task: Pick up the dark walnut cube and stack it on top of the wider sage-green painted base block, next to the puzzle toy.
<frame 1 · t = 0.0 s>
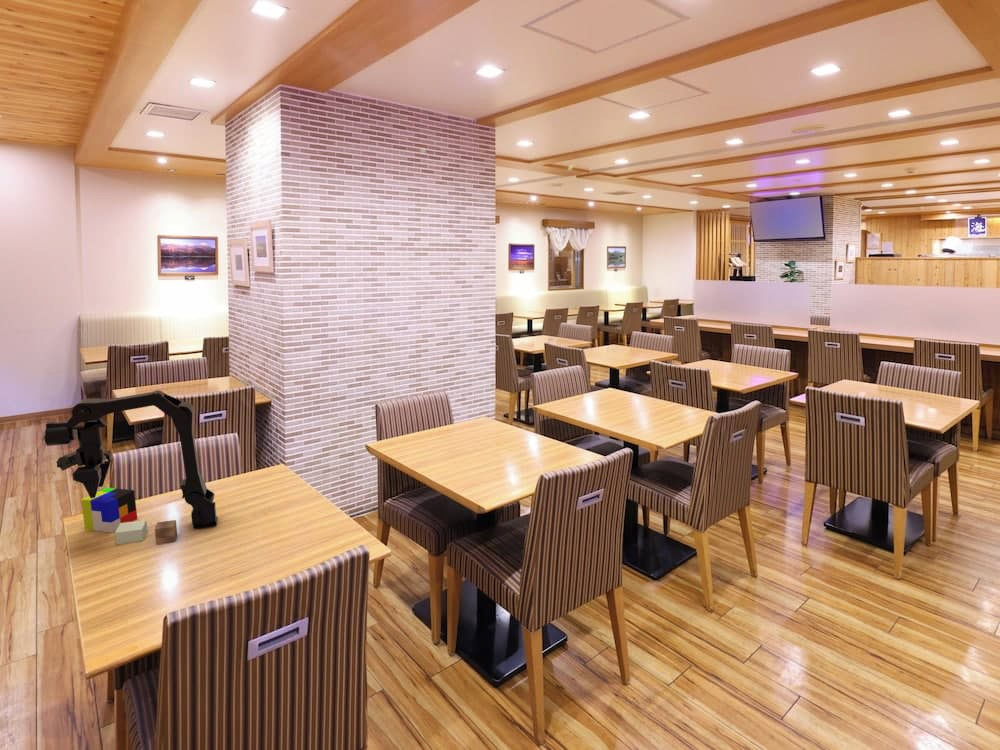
hand: (96, 492, 182), 15 cm above the table, fingers open, 9 cm apart
puzzle toy: (111, 524, 194), on the table
base block: (132, 538, 185), on the table
walnut cube: (167, 539, 184), on the table
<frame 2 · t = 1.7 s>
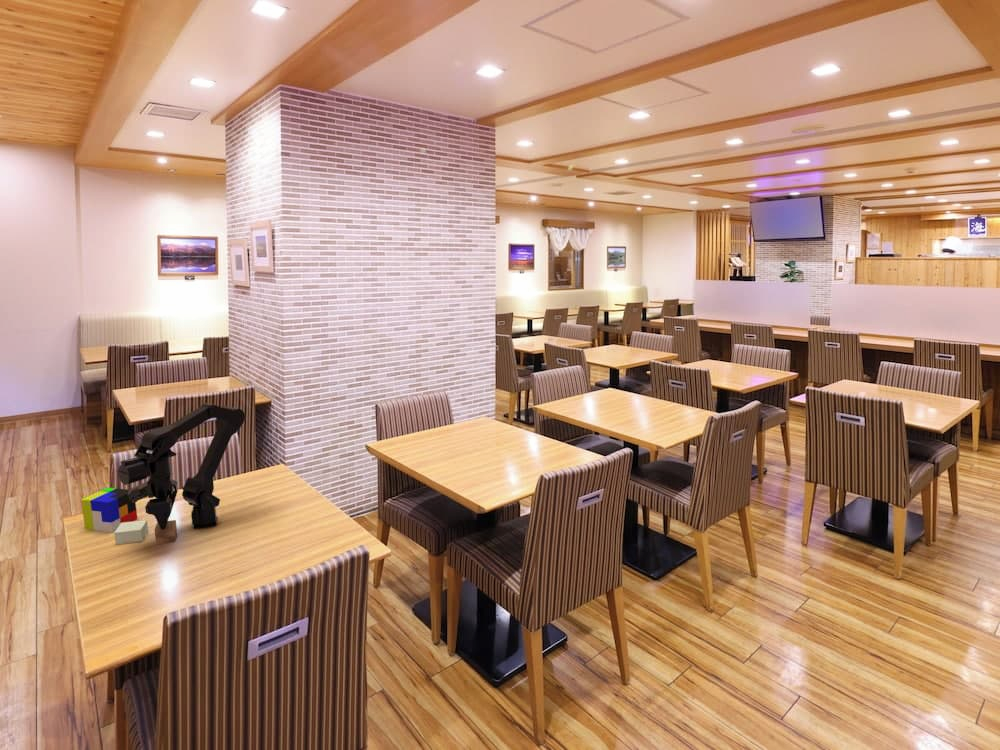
hand: (165, 522, 183), 5 cm above the table, fingers open, 9 cm apart
nothing on the table moved.
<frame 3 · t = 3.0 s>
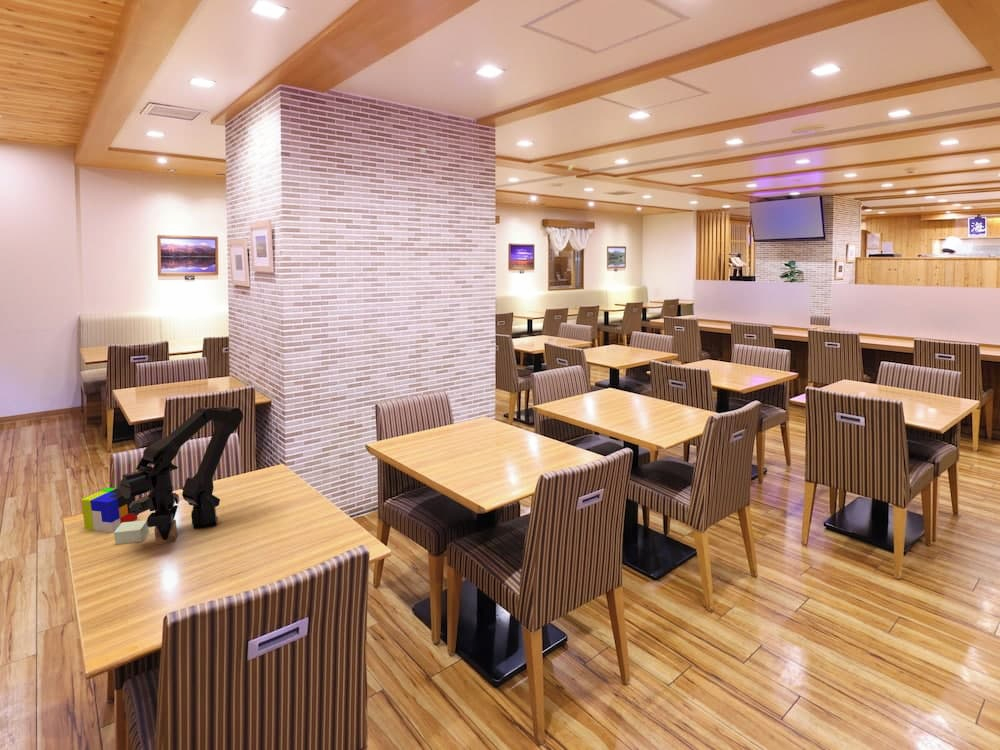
hand: (166, 535, 184), 1 cm above the table, fingers closed on walnut cube, 5 cm apart
walnut cube: (166, 539, 184), on the table, touching gripper
everything else where it was.
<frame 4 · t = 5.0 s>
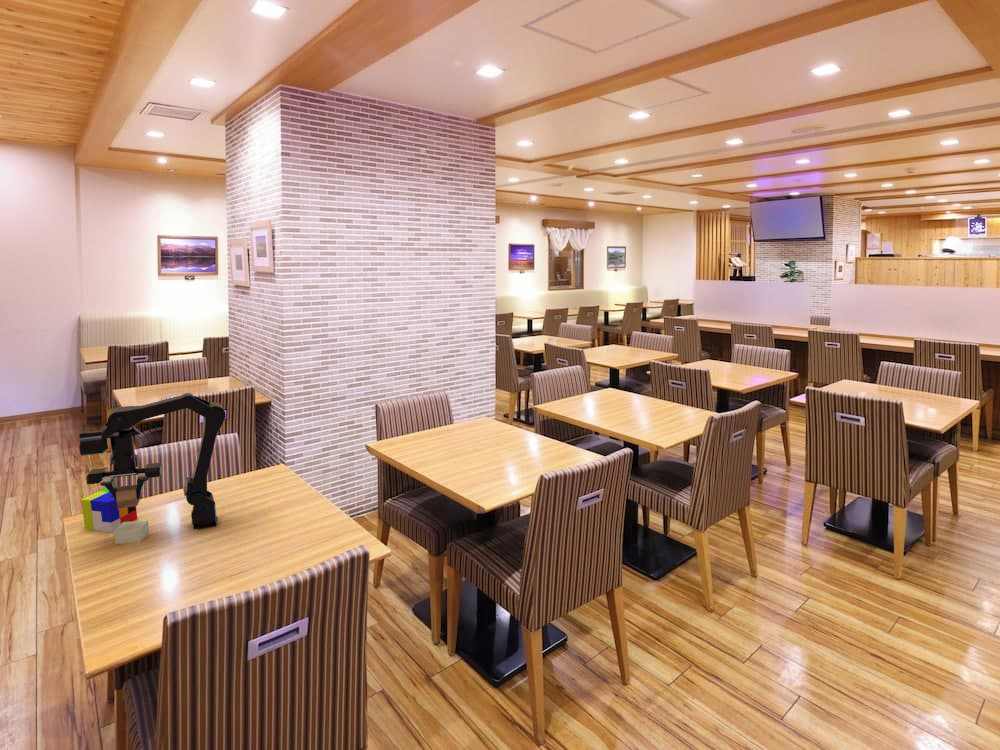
hand: (128, 500, 182), 12 cm above the table, fingers closed on walnut cube, 5 cm apart
walnut cube: (128, 504, 183), point 11 cm above the table, touching gripper
everything else where it was.
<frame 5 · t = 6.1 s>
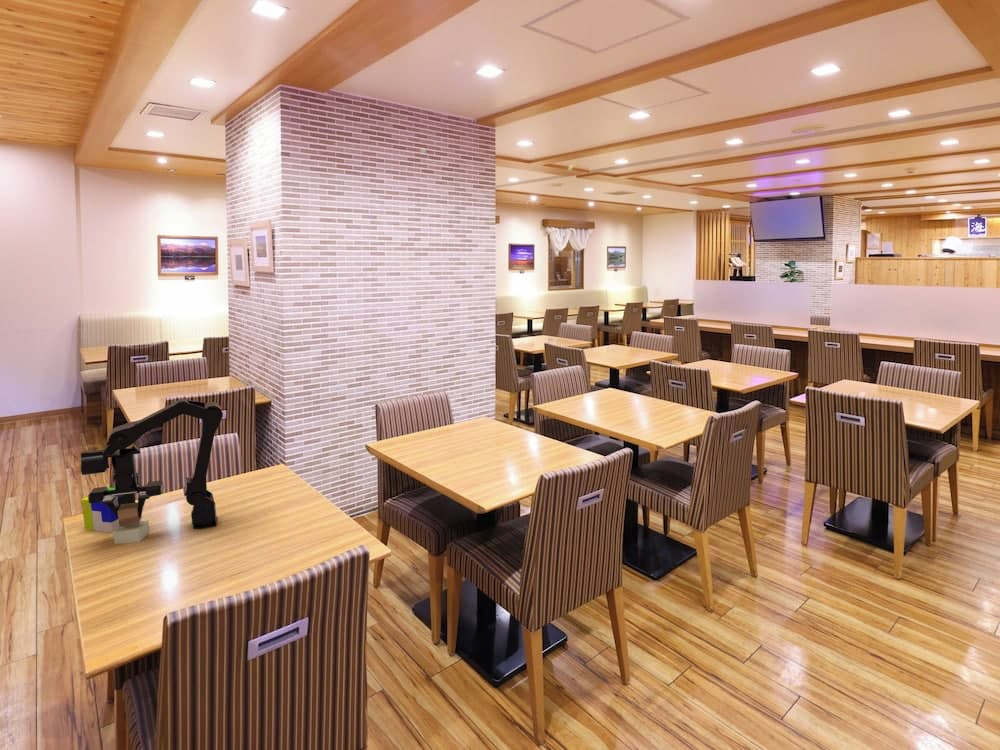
hand: (130, 518, 184), 6 cm above the table, fingers closed on walnut cube, 5 cm apart
walnut cube: (130, 521, 184), point 5 cm above the table, touching gripper
everything else where it was.
when the fingers open (6 cm above the table, at t = 6.9 s): walnut cube drops 1 cm, resting on base block.
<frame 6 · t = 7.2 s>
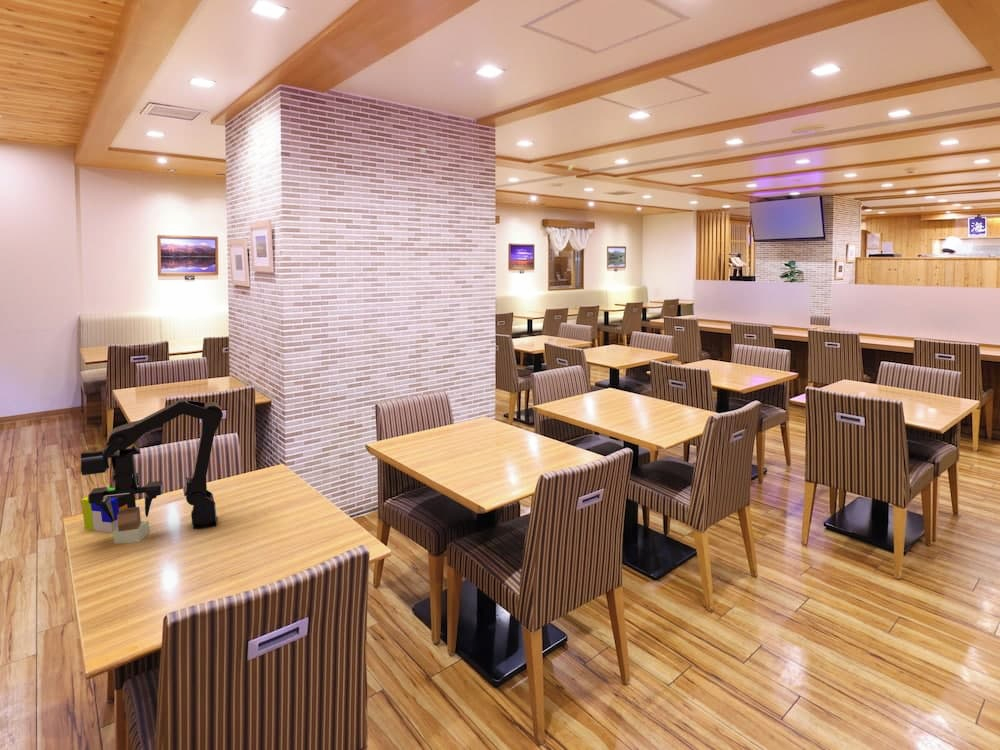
hand: (130, 518, 184), 6 cm above the table, fingers open, 9 cm apart
base block: (132, 538, 185), on the table, touching walnut cube
walnut cube: (130, 526, 184), point 4 cm above the table, touching base block
everything else where it was.
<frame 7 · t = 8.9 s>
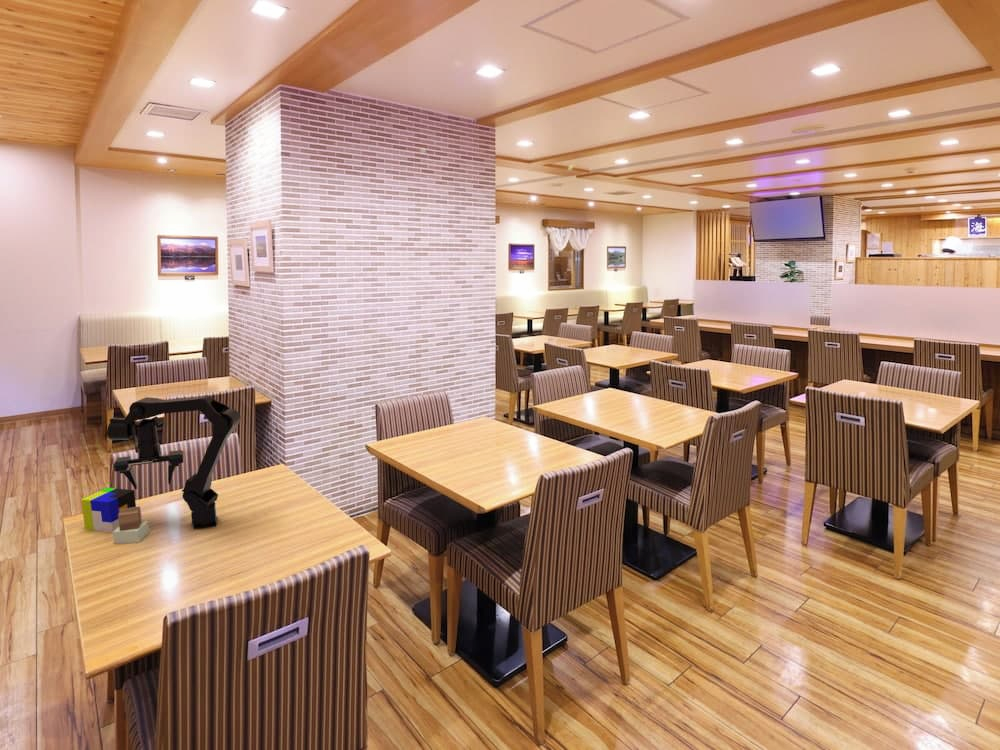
hand: (153, 486, 192), 13 cm above the table, fingers open, 9 cm apart
nothing on the table moved.
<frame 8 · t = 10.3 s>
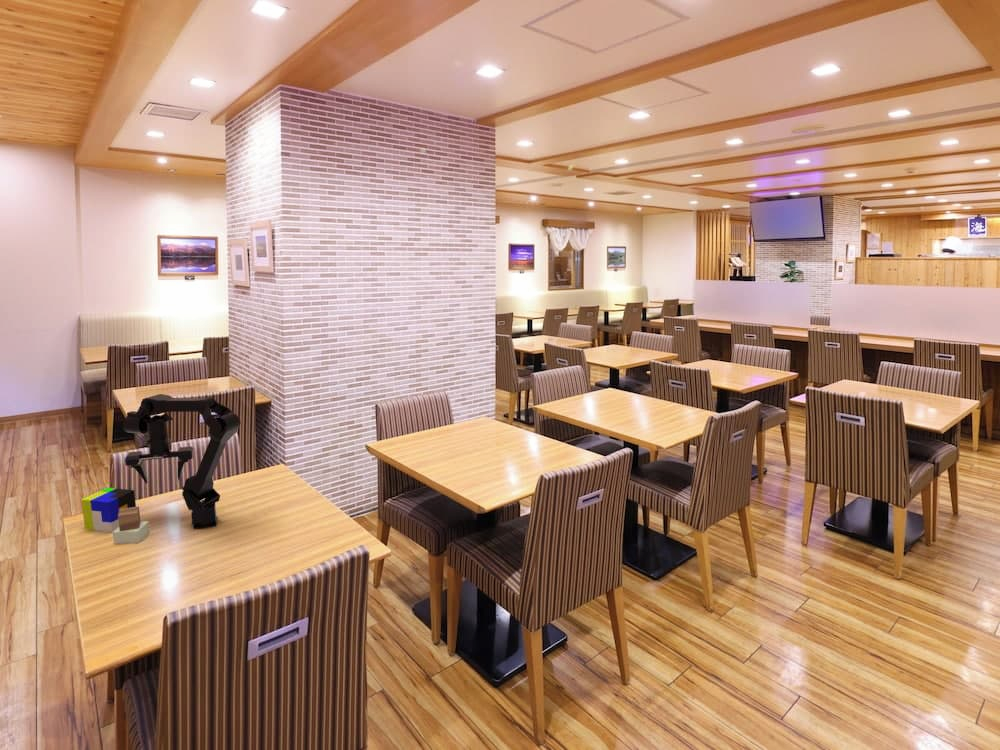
hand: (163, 481, 195), 13 cm above the table, fingers open, 9 cm apart
nothing on the table moved.
at the end: walnut cube 0.4 cm off-centre on the base block, point 4.0 cm above the base block's base; walnut cube tilted 0°; the gripper is holding nothing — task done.
